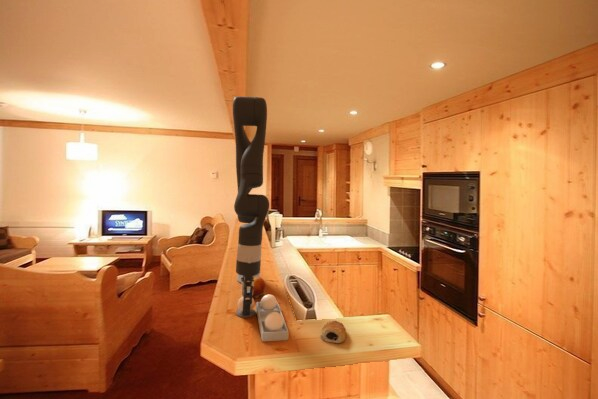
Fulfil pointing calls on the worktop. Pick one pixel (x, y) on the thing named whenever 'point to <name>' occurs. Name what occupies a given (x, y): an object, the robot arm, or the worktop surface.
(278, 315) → the egg
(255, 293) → the fruit
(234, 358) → the worktop surface
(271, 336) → the carton
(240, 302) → the pale pink ball
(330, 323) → the pastry
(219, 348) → the worktop surface
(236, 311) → the mat
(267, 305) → the egg
